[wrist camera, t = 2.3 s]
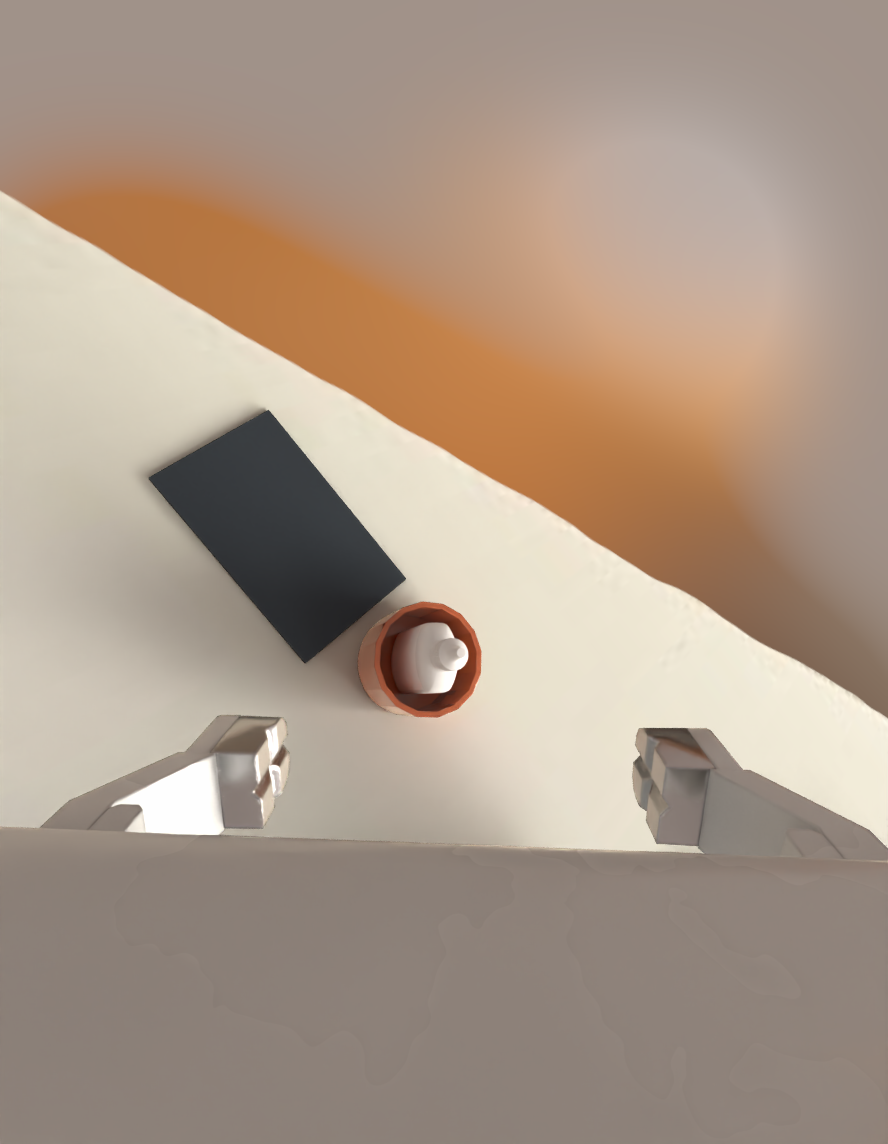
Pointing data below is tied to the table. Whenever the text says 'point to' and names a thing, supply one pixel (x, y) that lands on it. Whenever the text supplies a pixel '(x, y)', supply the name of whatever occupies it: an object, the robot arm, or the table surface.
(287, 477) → the mat
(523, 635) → the table surface
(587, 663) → the table surface
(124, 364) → the table surface
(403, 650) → the eye dropper bottle
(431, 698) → the cup
